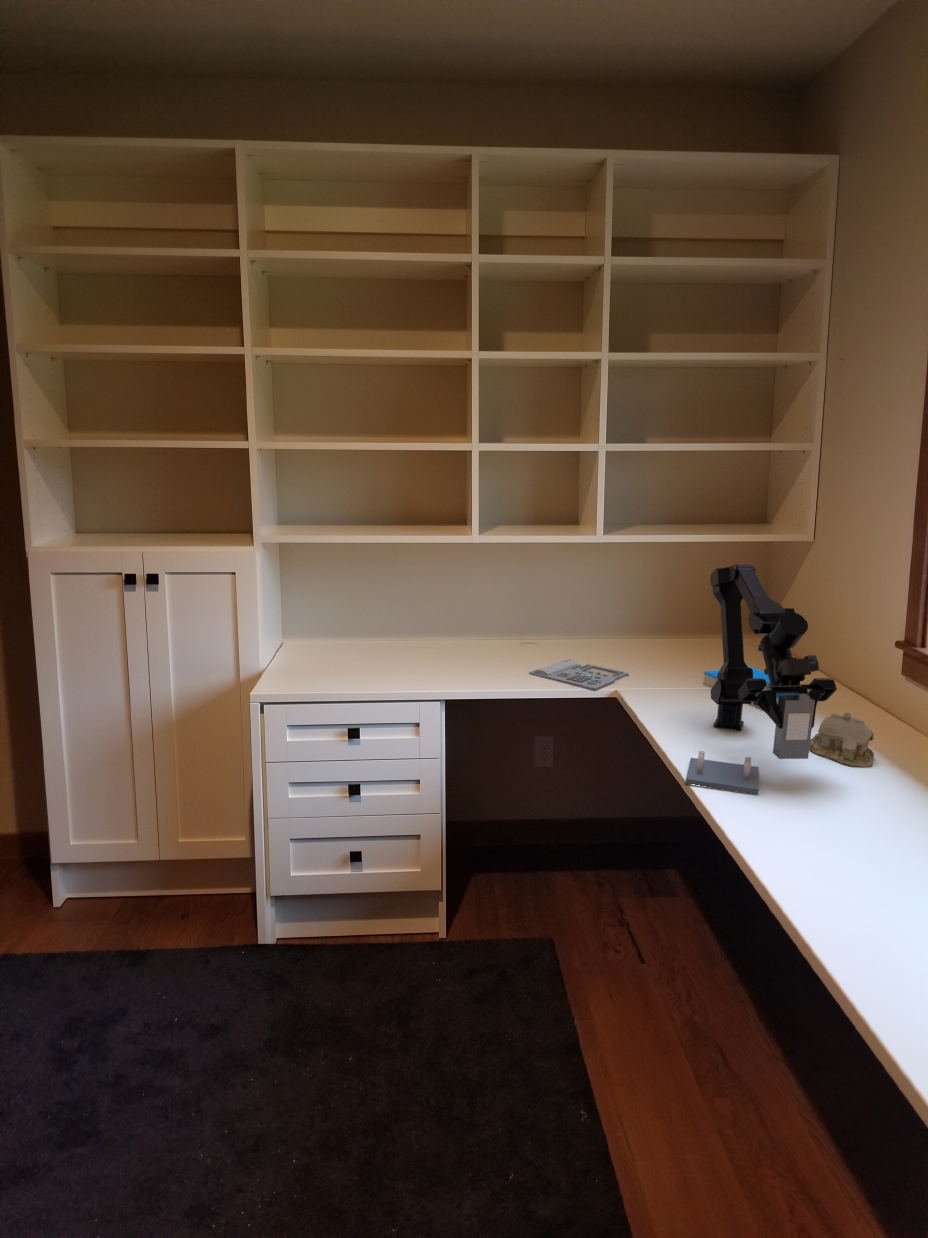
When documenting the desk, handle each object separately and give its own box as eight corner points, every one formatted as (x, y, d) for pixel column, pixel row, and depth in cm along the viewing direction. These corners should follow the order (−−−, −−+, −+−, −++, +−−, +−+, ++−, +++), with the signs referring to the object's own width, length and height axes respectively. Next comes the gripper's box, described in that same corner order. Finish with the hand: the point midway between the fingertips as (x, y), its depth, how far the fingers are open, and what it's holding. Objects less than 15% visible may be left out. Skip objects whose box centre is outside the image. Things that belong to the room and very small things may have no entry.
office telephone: (528, 667, 245) (567, 654, 259) (527, 676, 245) (567, 663, 260) (595, 683, 229) (633, 668, 244) (594, 692, 230) (632, 677, 245)
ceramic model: (882, 757, 187) (888, 714, 184) (866, 771, 179) (872, 727, 176) (818, 741, 196) (823, 700, 194) (800, 754, 188) (805, 712, 185)
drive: (772, 752, 172) (778, 695, 169) (800, 752, 173) (807, 695, 170) (779, 759, 169) (786, 700, 166) (808, 759, 169) (815, 700, 167)
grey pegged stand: (690, 762, 182) (691, 742, 180) (758, 772, 177) (760, 751, 176) (685, 784, 170) (687, 763, 169) (757, 795, 166) (760, 773, 165)
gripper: (748, 640, 169) (766, 710, 161) (838, 640, 170) (859, 710, 162) (730, 667, 178) (746, 734, 170) (815, 666, 179) (834, 733, 171)
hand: (796, 727), depth 168 cm, fingers closed on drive, 6 cm apart
